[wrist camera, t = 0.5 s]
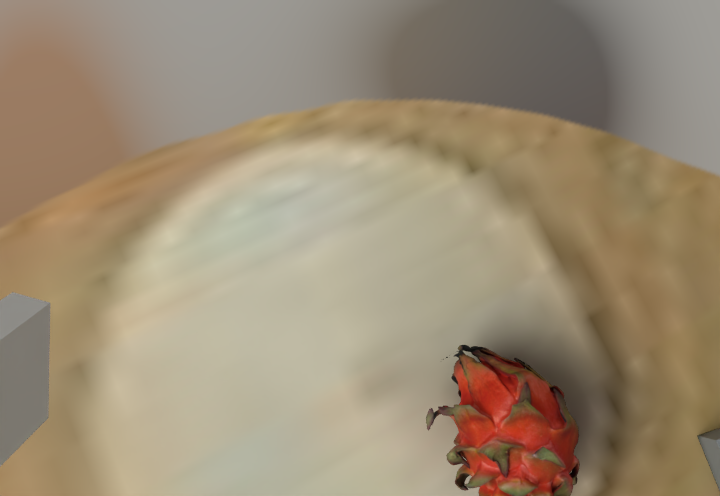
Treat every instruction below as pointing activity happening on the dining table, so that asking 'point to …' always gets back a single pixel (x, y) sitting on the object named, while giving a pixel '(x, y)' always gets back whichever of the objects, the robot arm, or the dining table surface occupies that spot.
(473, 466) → the dragon fruit
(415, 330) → the dining table surface
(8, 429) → the robot arm
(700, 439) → the tray
